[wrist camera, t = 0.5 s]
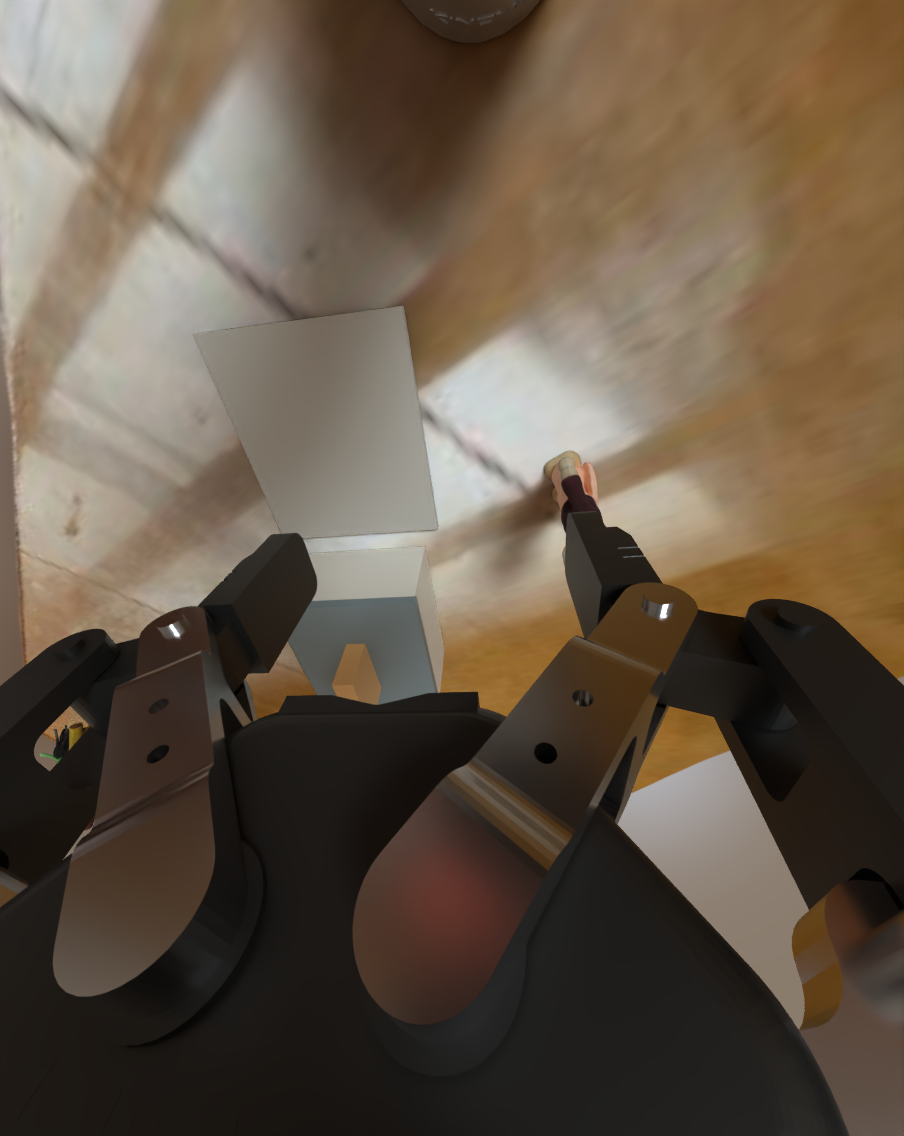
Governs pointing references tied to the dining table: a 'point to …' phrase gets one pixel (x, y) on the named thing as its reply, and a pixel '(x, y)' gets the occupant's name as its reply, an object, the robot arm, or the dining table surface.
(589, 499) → the grandmother figurine
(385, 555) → the small white cabinet
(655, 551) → the dining table surface
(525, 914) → the robot arm
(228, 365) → the mat
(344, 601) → the lid
